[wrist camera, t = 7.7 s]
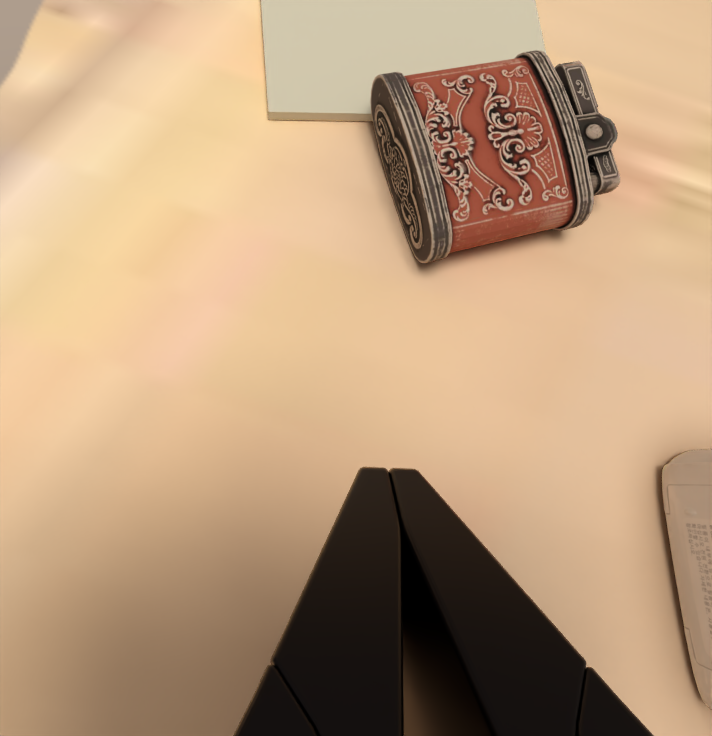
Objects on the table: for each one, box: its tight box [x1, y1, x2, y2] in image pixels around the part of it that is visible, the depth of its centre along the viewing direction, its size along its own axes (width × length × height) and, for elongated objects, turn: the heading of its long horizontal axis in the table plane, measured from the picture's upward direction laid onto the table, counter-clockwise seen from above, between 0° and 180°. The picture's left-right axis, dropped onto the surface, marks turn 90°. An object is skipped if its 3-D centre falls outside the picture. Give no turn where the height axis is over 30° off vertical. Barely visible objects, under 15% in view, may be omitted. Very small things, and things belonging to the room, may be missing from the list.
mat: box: [261, 0, 546, 121], centre depth 25 cm, size 14×8×1 cm, turn 95°
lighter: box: [370, 50, 620, 263], centre depth 22 cm, size 8×3×10 cm
